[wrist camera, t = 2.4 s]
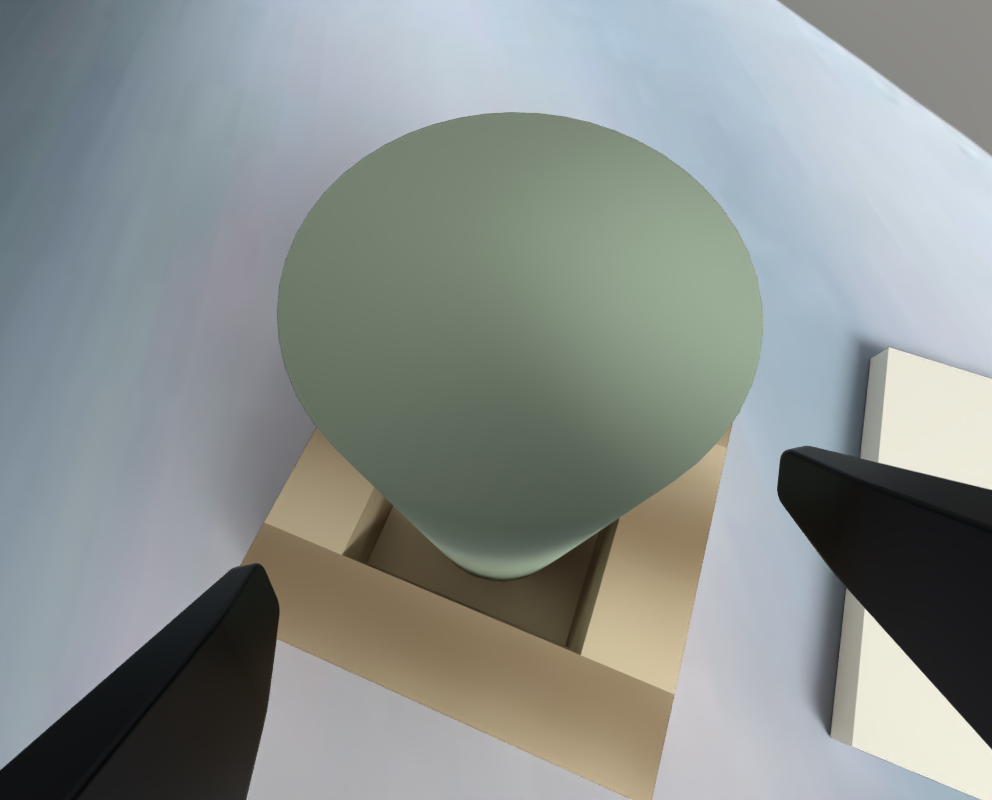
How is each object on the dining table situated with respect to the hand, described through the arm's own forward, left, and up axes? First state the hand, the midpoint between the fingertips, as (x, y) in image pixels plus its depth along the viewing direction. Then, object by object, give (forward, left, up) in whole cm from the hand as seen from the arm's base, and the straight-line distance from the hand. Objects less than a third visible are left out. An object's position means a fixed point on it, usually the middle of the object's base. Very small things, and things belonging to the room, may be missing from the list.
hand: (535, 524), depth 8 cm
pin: (+2, +1, -9) cm, 9 cm away
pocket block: (+2, +1, -9) cm, 10 cm away
